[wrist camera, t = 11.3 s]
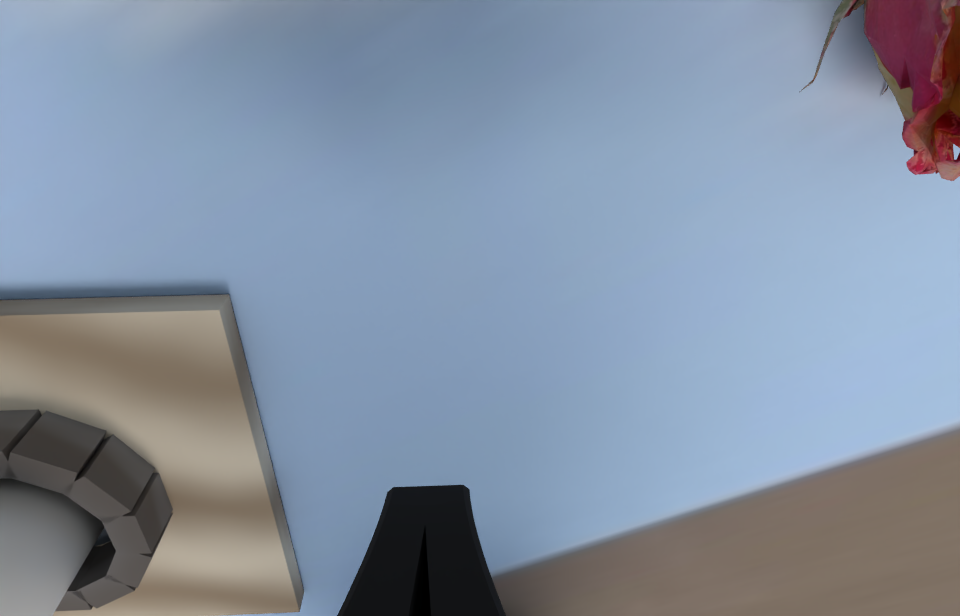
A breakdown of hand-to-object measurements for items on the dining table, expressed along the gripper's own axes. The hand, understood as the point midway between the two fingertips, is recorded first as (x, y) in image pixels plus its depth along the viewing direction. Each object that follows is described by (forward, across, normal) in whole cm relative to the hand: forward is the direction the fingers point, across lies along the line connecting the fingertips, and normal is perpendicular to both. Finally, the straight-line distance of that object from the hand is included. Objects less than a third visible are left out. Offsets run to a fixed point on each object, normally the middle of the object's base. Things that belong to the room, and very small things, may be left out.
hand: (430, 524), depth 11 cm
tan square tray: (+10, +15, +9) cm, 20 cm away
